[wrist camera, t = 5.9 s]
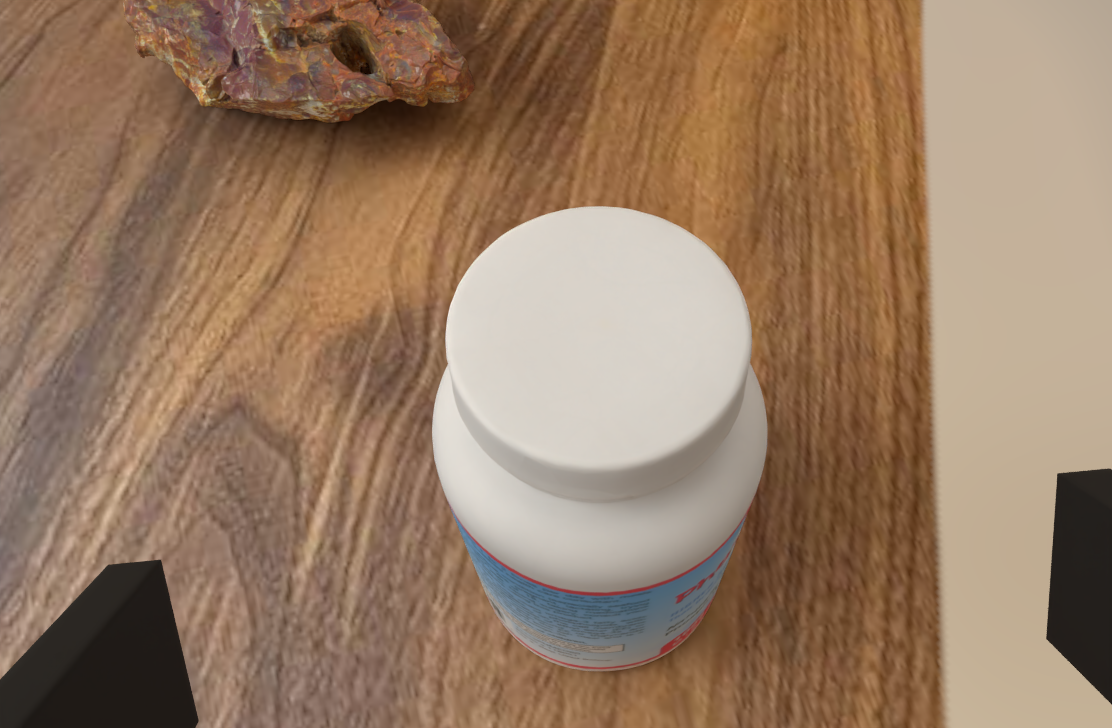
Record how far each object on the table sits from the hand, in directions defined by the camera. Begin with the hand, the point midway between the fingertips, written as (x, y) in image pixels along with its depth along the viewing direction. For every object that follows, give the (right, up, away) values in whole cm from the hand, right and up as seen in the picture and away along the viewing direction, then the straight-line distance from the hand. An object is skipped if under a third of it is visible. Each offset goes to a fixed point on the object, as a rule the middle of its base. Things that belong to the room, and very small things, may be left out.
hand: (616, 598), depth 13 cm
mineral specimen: (-9, +14, +19) cm, 25 cm away
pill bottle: (0, -2, +10) cm, 10 cm away
